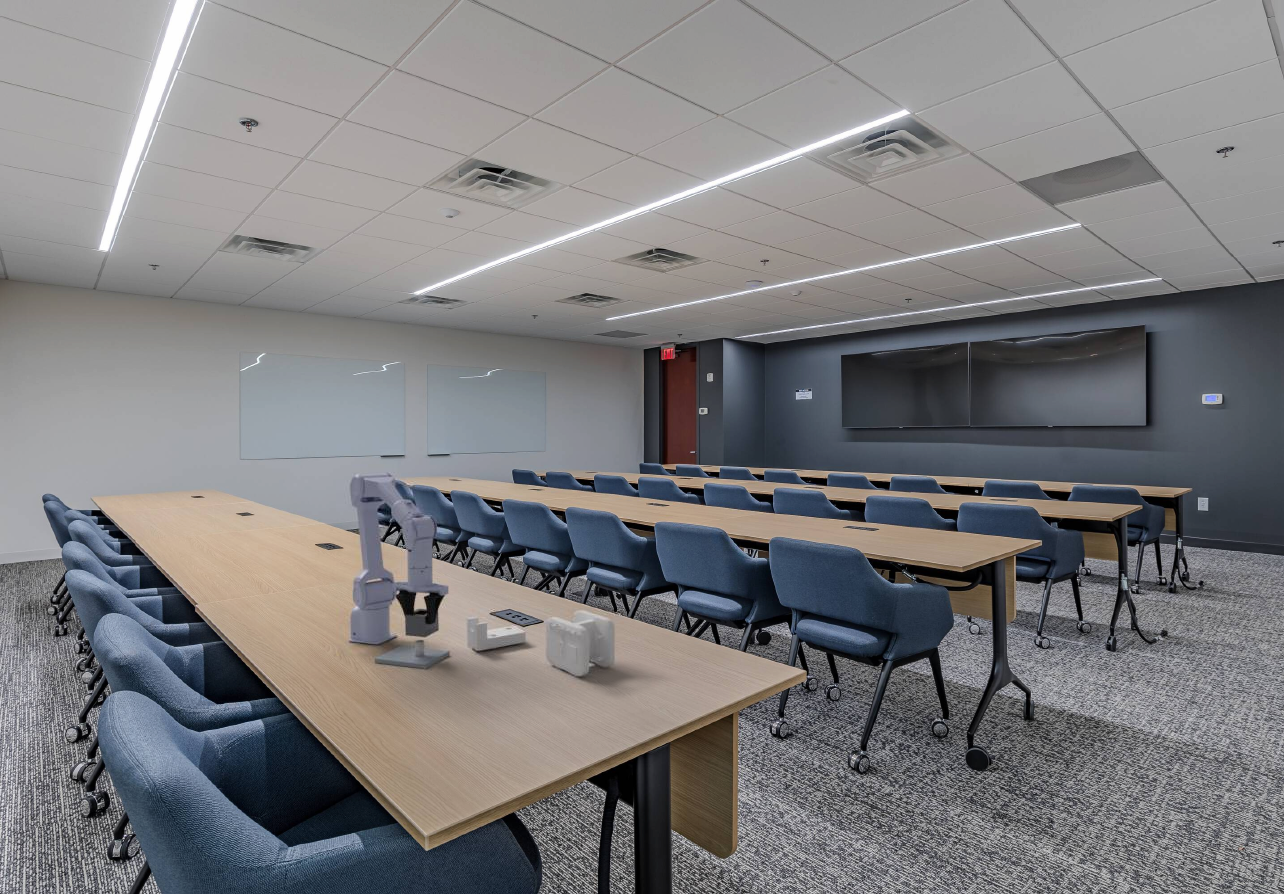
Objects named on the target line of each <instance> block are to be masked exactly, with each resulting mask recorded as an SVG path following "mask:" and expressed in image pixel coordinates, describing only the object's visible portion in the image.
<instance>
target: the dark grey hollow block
mask: <svg viewBox="0 0 1284 894" xmlns="http://www.w3.org/2000/svg"><path fill="white" fill-rule="evenodd" d="M404 619H405V620H404V623H405V625H404V626H405V628H404V629H405V636H408V637H409V636H410V637H418V638H419V637H420V638H427V637H428V636H430V635H432V634H434V633H436V632H439V629H440V628H439V611H438V612H437V615H436V620H435V623H433V624H430V625H429V624H428V623H427V609H426V608H417V609H414V611H413V612H410V613H408V614H406V615H405V616H404Z"/></svg>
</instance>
